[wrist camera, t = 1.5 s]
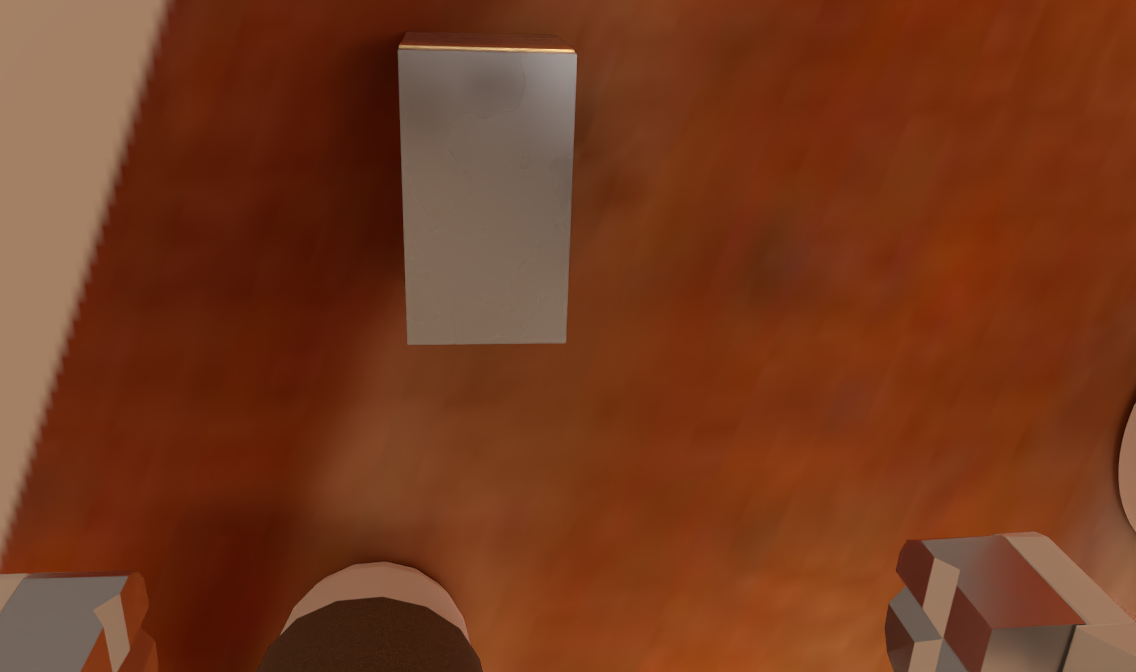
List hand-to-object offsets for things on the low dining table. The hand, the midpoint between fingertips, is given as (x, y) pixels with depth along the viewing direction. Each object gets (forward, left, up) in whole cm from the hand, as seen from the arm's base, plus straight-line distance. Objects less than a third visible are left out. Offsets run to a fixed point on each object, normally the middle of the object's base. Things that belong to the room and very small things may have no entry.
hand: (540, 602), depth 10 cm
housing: (0, 0, -22) cm, 22 cm away
